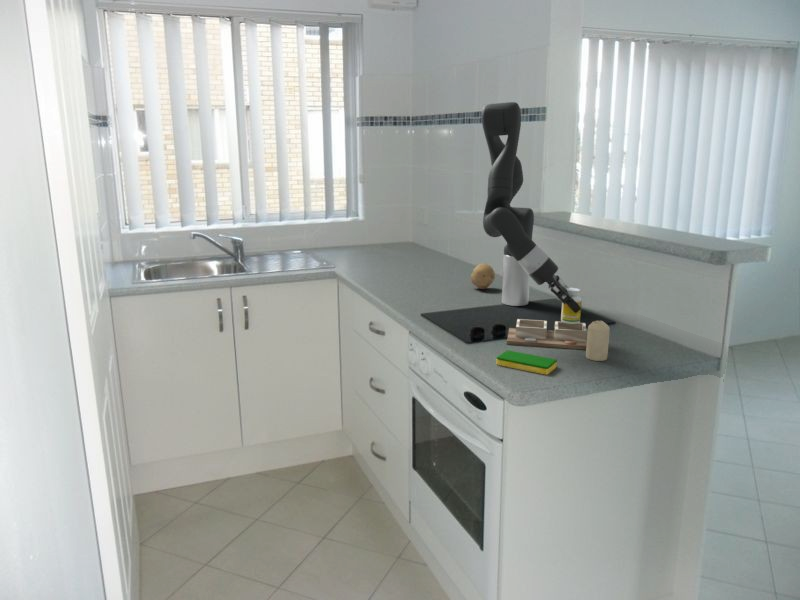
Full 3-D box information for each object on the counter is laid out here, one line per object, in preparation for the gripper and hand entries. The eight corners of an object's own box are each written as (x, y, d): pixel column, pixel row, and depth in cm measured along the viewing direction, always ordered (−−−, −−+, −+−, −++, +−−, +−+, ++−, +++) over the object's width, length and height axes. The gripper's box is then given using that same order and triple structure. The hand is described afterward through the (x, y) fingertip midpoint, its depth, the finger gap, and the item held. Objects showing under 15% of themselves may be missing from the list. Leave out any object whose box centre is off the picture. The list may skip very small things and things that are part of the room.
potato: (496, 292, 248) (497, 266, 246) (472, 292, 248) (473, 266, 246) (491, 286, 257) (492, 261, 255) (469, 286, 257) (469, 261, 254)
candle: (606, 362, 173) (609, 325, 171) (584, 359, 175) (587, 323, 173) (608, 356, 178) (611, 320, 176) (586, 353, 180) (589, 318, 178)
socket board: (509, 331, 200) (509, 318, 199) (591, 336, 195) (592, 323, 194) (506, 344, 188) (507, 330, 187) (594, 350, 183) (595, 336, 182)
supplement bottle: (558, 319, 193) (560, 287, 191) (576, 319, 194) (579, 287, 191) (563, 324, 188) (566, 291, 186) (582, 324, 188) (585, 291, 186)
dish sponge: (506, 358, 178) (507, 349, 177) (556, 368, 170) (557, 359, 170) (495, 366, 172) (496, 357, 171) (547, 376, 165) (547, 367, 164)
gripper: (547, 260, 181) (590, 305, 182) (547, 251, 195) (587, 294, 195) (527, 278, 183) (568, 323, 184) (528, 268, 197) (567, 310, 198)
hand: (577, 308), depth 190 cm, fingers closed on supplement bottle, 5 cm apart
